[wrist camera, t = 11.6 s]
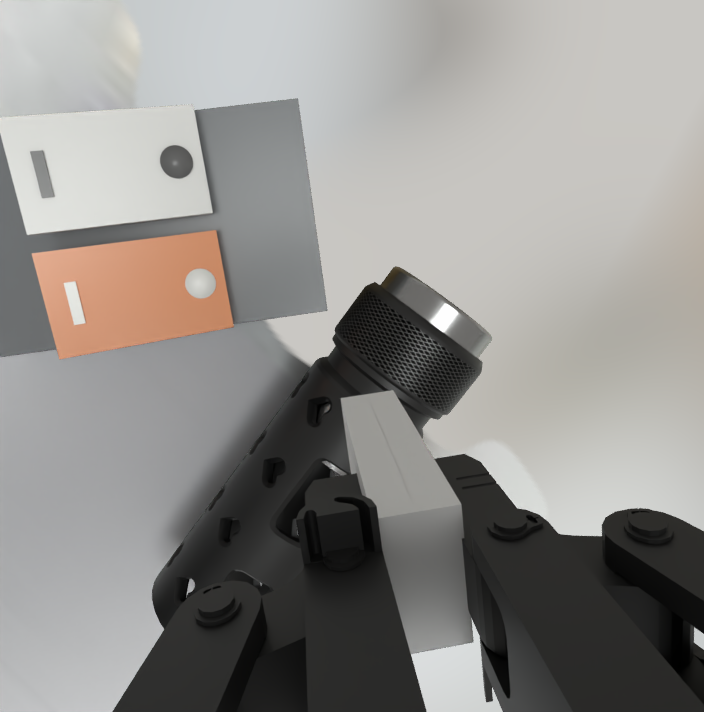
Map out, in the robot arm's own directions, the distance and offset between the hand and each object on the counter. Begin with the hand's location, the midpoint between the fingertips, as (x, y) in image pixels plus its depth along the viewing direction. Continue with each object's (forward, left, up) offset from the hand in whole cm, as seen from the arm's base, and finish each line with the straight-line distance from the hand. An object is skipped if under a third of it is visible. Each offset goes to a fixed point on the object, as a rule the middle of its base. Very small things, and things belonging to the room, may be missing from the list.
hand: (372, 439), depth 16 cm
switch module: (-14, +7, -26) cm, 31 cm away
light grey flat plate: (-11, +10, -19) cm, 25 cm away
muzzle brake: (-2, -10, -27) cm, 29 cm away
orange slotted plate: (-11, +4, -19) cm, 23 cm away
